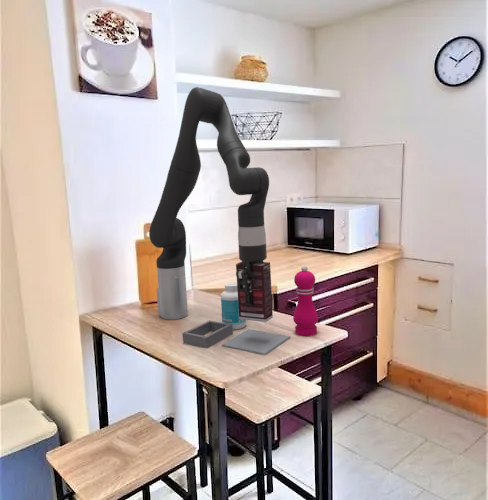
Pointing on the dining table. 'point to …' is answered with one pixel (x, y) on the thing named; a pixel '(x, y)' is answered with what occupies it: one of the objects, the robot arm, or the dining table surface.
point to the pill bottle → (231, 307)
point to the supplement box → (257, 294)
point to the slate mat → (256, 341)
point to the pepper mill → (305, 304)
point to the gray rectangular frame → (197, 339)
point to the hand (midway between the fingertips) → (255, 302)
